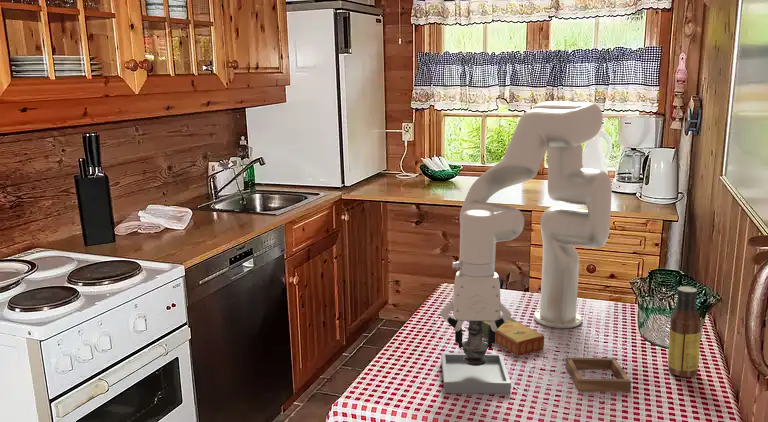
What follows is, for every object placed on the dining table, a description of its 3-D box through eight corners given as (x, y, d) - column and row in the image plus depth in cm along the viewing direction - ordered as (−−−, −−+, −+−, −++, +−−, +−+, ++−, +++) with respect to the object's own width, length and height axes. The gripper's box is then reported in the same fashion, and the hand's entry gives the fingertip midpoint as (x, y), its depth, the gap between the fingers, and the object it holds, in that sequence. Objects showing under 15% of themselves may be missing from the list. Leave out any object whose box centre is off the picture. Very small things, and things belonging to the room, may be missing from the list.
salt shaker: (467, 368, 135) (468, 315, 132) (457, 356, 140) (458, 306, 138) (492, 364, 136) (494, 312, 134) (480, 353, 142) (482, 303, 139)
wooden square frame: (565, 367, 144) (566, 357, 143) (614, 368, 143) (614, 358, 143) (578, 391, 133) (578, 380, 132) (630, 392, 133) (631, 381, 132)
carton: (516, 358, 150) (517, 341, 149) (478, 333, 164) (479, 318, 163) (544, 351, 153) (545, 334, 152) (504, 328, 167) (505, 312, 166)
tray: (441, 362, 147) (441, 353, 146) (501, 363, 146) (501, 353, 145) (444, 392, 133) (444, 382, 132) (510, 393, 132) (510, 383, 132)
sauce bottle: (698, 370, 142) (707, 287, 138) (696, 381, 137) (705, 295, 133) (667, 363, 145) (675, 282, 141) (663, 374, 140) (672, 290, 136)
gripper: (437, 272, 131) (436, 352, 134) (520, 273, 130) (517, 354, 134) (436, 262, 138) (435, 338, 142) (514, 262, 137) (511, 339, 141)
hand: (474, 345), depth 138 cm, fingers closed on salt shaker, 5 cm apart
